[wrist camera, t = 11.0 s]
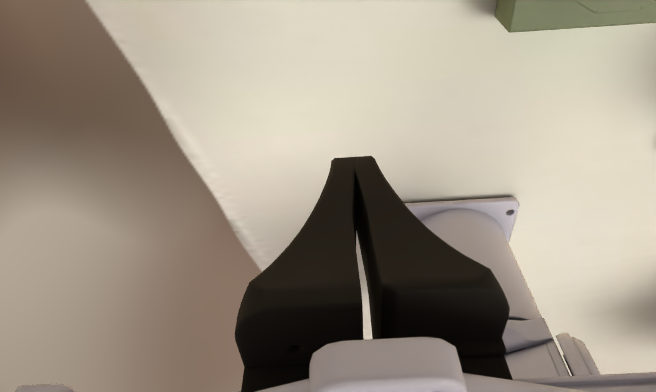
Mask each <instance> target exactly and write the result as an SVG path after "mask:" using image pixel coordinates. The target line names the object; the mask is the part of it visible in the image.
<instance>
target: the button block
mask: <svg viewBox="0 0 656 392" xmlns="http://www.w3.org/2000/svg"><path fill="white" fill-rule="evenodd" d="M495 17H496V18H497V20H498V21H499V22H500V23H501V24H502V25H503V26H504V27H505V29H506V30H507V31H508V32H524V31H539V30H554V29H569V28H584V27H598V26H613V25H628V24H643V23H656V0H497V6H496V12H495Z"/></svg>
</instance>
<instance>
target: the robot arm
mask: <svg viewBox="0 0 656 392" xmlns="http://www.w3.org/2000/svg"><path fill="white" fill-rule="evenodd" d="M518 208H519V202H518V200H517V199H516V198H514V197H507V198H490V199H472V200H455V201H437V202H420V203H403V202H402V200H401V199H400V198H399V197H398V195H397V194H396V193H395V191H394V190H393V189H392V187H391V186H390V185H389V183H388V182H387V180H386V179H385V177H384V175H383V174H382V172H381V170H380V169H379V167H378V165H377V163H376V161H375V159H374V158H373V157H372V156H363V157H346V158H334V159H333V160H332V161H331V168H330V172H329V176H328V178H327V181H326V184H325V186H324V189H323V191H322V193H321V196H320V198H319V200H318V202H317V204H316V206H315V207H314V209H313V211H312V213H311V215H310V216H309V218H308V220H307V221H306V223H305V224H304V226H303V227H302V229H301V230H300V232H299V233H298V234H297V236H296V237H295V238H294V240H293V241H292V242H291V243H290V245H289V246H288V247H287V248H286V249H285V250H284V251H283V252H282V253H281V255H280V256H279V257H278V258H277V259H276V260H275V261H274V262H273V263H272V264H271V265H270V266H269V267H268V268H266V269H265V270H264V271H263V272H262V273H261V274H260V275H258V276H257V277H256V278H255V279H253V280H252V281H251V282H250V283H249V285H248V287H247V290H246V292H245V294H244V297H243V300H242V302H241V306H240V309H239V313H238V317H237V323H236V329H235V340H236V343H237V346H238V349H239V352H240V355H241V358H242V361H243V364H244V367H245V368H244V374H243V383H242V390H241V392H656V372H650V373H628V374H606V375H601V374H600V372H599V370H598V368H597V366H596V364H595V362H594V361H593V359H592V357H591V355H590V353H589V351H588V350H587V348H586V346H585V344H584V343H583V342H582V341H580V340H578V339H576V338H574V337H571V336H570V335H569V334H568V333H562V334H559V335H557V336H556V337H557V340H558V342H559V344H560V346H561V349H562V351H563V353H564V355H563V357H564V359H565V361H566V363H567V365H568V368H569V370H570V372H571V374H572V376H570V374H569V372H568V370H567V368H566V366H565V363H564V361H563V359H562V357H561V355H560V352H559V350H558V348H557V346H556V344H555V342H554V339H553V337H552V335H551V333H550V331H549V329H548V326H547V324H546V322H545V320H544V318H542V317H541V314H540V312H539V310H538V308H537V305H536V303H535V301H534V299H533V296H532V294H531V292H530V290H529V288H528V285H527V283H526V281H525V279H524V276H523V274H522V272H521V270H520V267H519V265H518V263H517V261H516V259H515V256H514V254H513V252H512V250H511V247H510V245H509V241H510V237H511V234H512V230H513V227H514V223H515V219H516V216H517V212H518ZM510 209H512V210H510ZM508 210H510V211H508ZM356 232H357V234H358V240H359V245H360V250H361V255H362V260H363V265H364V270H365V275H366V280H367V287H368V293H369V304H370V314H371V326H372V337H373V339H370V340H363V313H362V296H361V285H360V278H359V270H358V263H357V254H356ZM15 392H76V391H75V390H74V389H73V388H71V387H69V386H66V385H64V384H42V385H22V386H19V387H18V388H17V389H16V391H15ZM239 392H240V391H239Z"/></svg>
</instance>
